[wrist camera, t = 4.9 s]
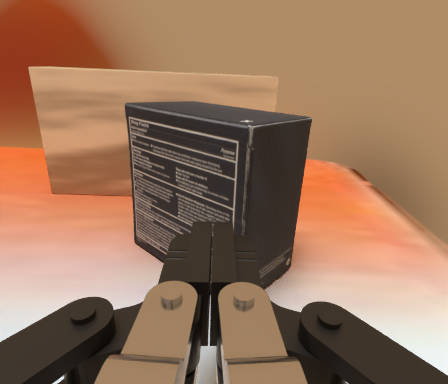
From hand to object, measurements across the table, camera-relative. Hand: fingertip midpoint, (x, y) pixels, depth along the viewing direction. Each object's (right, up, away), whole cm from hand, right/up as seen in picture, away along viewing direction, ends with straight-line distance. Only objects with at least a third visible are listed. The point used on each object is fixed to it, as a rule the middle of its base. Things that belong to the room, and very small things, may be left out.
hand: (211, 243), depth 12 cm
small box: (-1, -3, +11) cm, 11 cm away
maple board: (-6, +2, +22) cm, 23 cm away
